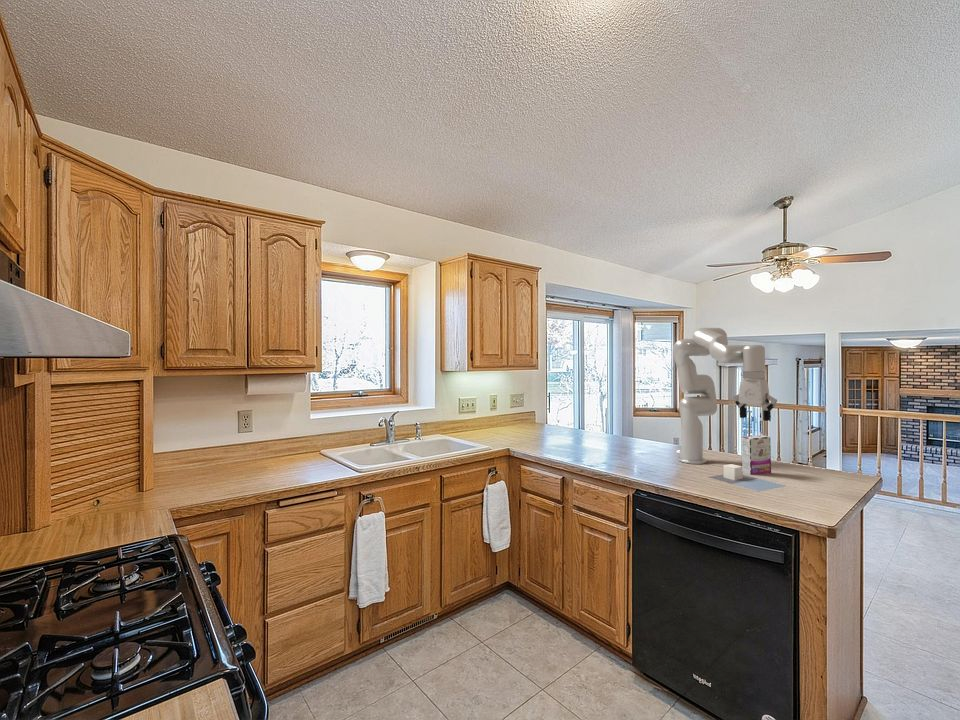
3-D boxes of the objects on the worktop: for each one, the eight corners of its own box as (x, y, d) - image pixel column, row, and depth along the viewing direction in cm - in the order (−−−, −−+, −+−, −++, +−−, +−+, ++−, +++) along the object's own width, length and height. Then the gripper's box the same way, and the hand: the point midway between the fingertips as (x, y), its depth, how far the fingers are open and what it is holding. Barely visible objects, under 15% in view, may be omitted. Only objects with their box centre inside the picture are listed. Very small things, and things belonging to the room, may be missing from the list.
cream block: (723, 477, 190) (723, 465, 190) (731, 475, 192) (731, 464, 192) (734, 480, 185) (734, 468, 185) (742, 478, 188) (742, 466, 187)
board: (708, 479, 190) (708, 477, 190) (733, 474, 197) (733, 472, 197) (759, 493, 170) (759, 491, 170) (785, 487, 177) (785, 485, 177)
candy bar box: (761, 471, 201) (761, 434, 201) (771, 474, 196) (771, 436, 196) (741, 473, 198) (741, 436, 198) (750, 476, 193) (750, 438, 193)
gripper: (727, 375, 186) (728, 417, 186) (769, 377, 170) (770, 422, 170) (740, 375, 189) (740, 416, 189) (782, 376, 173) (782, 421, 173)
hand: (754, 419), depth 180 cm, fingers open, 9 cm apart
